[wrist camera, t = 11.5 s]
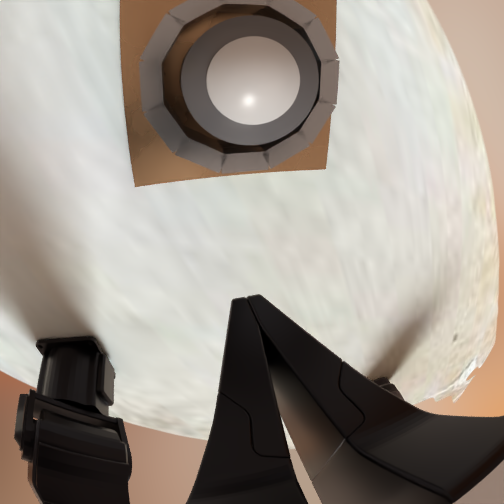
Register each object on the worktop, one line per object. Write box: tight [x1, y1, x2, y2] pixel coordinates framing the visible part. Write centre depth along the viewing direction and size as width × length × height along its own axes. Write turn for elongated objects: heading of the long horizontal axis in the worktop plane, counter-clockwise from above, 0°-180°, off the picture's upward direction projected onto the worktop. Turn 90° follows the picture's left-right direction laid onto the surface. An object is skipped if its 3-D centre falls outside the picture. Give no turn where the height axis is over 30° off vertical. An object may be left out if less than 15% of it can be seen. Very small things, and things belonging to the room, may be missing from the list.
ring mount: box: [120, 0, 339, 187], centre depth 14 cm, size 12×12×3 cm
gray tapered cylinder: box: [180, 15, 319, 145], centre depth 13 cm, size 6×6×4 cm
